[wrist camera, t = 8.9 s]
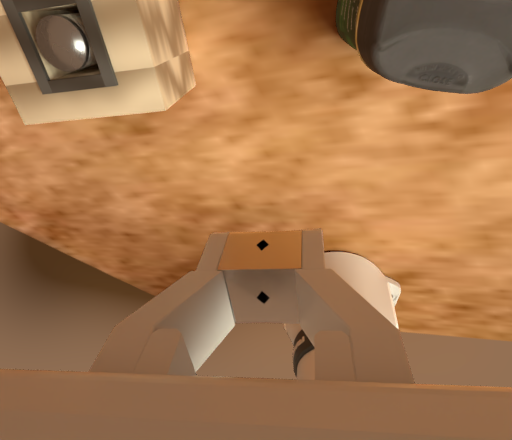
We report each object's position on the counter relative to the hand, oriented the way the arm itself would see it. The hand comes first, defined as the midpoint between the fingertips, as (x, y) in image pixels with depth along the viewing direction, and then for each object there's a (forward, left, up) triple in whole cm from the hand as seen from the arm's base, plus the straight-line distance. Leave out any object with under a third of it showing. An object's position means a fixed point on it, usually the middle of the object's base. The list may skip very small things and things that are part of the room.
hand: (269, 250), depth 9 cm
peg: (+5, +18, -31) cm, 36 cm away
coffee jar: (+4, -9, -31) cm, 33 cm away
